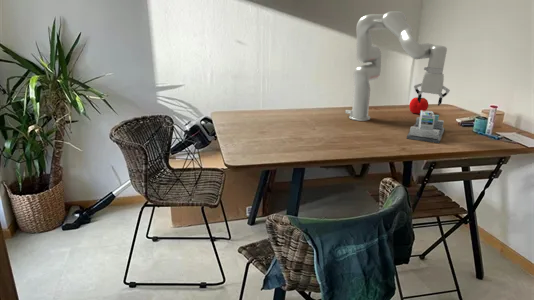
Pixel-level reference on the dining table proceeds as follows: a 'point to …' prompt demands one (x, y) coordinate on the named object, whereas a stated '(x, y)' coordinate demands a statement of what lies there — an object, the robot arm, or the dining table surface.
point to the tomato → (418, 105)
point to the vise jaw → (436, 123)
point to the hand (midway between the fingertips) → (429, 103)
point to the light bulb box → (426, 119)
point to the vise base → (425, 134)
